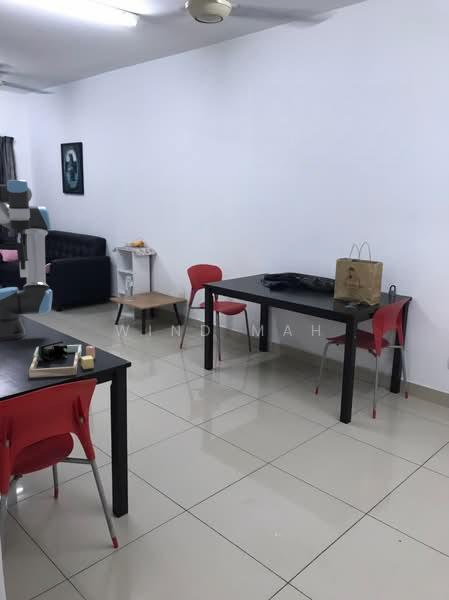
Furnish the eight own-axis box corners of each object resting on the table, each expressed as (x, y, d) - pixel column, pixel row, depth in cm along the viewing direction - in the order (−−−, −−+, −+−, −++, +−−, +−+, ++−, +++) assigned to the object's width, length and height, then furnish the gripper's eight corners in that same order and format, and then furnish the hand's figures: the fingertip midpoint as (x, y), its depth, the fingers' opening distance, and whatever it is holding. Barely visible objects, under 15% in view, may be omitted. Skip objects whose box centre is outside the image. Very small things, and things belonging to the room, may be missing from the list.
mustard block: (81, 366, 194) (81, 356, 193) (91, 364, 196) (90, 355, 195) (83, 369, 191) (83, 360, 190) (93, 367, 192) (93, 358, 192)
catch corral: (37, 353, 207) (36, 346, 206) (81, 350, 211) (81, 344, 211) (33, 361, 197) (33, 355, 196) (80, 359, 201) (80, 352, 201)
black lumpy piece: (60, 354, 207) (59, 339, 206) (68, 358, 203) (68, 343, 201) (38, 359, 200) (37, 344, 198) (47, 364, 195) (46, 348, 194)
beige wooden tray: (35, 361, 197) (35, 354, 196) (78, 359, 201) (78, 352, 201) (29, 377, 181) (28, 370, 180) (76, 374, 185) (75, 367, 184)
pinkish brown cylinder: (86, 357, 204) (86, 345, 203) (95, 356, 205) (94, 345, 204) (86, 359, 201) (85, 348, 200) (95, 359, 202) (94, 348, 200)
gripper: (12, 218, 196) (17, 274, 202) (6, 220, 184) (11, 280, 189) (32, 218, 198) (36, 273, 204) (27, 220, 186) (31, 279, 191)
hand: (24, 276), depth 196 cm, fingers closed
